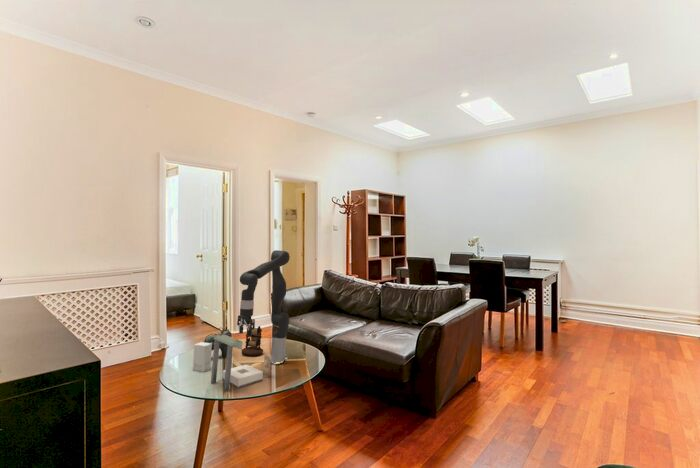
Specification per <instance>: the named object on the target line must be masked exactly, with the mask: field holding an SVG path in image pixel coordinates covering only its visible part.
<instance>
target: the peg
mask: <svg viewBox="0 0 700 468" xmlns="http://www.w3.org/2000/svg"><path fill="white" fill-rule="evenodd" d="M262 372H263V376H269V375H270V374H271V354H264V357H263V369H262ZM263 376H262V377H263ZM270 376H271V375H270ZM270 376H269V377H270Z"/></svg>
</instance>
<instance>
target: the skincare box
mask: <svg viewBox="0 0 700 468" xmlns="http://www.w3.org/2000/svg"><path fill="white" fill-rule="evenodd" d="M212 351H213V350H212V343H205V342H204V341H200V342H197V343H195V344H193V358H192V359H193V362H192V371H195V372H196V371H197V372H203V373H204V372H207V371H209V370H210V369H212V367H211V365H212Z"/></svg>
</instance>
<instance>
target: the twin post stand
mask: <svg viewBox="0 0 700 468" xmlns="http://www.w3.org/2000/svg"><path fill="white" fill-rule="evenodd" d="M214 339H215V341H214V350H213V353H212V362H211V365H212V367H211V374H210V384H212V385H214V384H217V377H218V376H217V375H218V366H219V365H218V364H219V353H220V349H219V344H220V342H222V343H225V344H227V345H228V347H227V356H226V357H225V358H226V360H225V362H226V363H225V369H224V370H225V381H224V380H223V381H224V384H223V392H228V390H229V391H230V385H231V384H230V375H231V368H232V362H233V361H232V360H233V353H234V352H233V351H234V350H233V349H234V348H235V349H237V350H241V351H242V349H243V341H242V340H241V339H240V340H239V339H238V338H234V337H230V336H227V335H221V336H215V337H214Z"/></svg>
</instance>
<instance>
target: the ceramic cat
mask: <svg viewBox="0 0 700 468" xmlns="http://www.w3.org/2000/svg"><path fill="white" fill-rule="evenodd" d="M220 329H221V330H220ZM217 330H218V331H219V330H220V333H219V334H218V333H217V334H216V333H214V334H213V333H211V334H208V335H206V336H205V338H204V341H203V342H205V343H212V351H214V341H215V339H214V337H215V336H221V335H227V336H230V337H232V332H231V331H230V329H227V330H224V328H223V327H219V328H217ZM232 338H233V337H232ZM227 347H228V345H227V344H225V343H222V342H220V344H219V351H220V352H221V357H223V358H227Z"/></svg>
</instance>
